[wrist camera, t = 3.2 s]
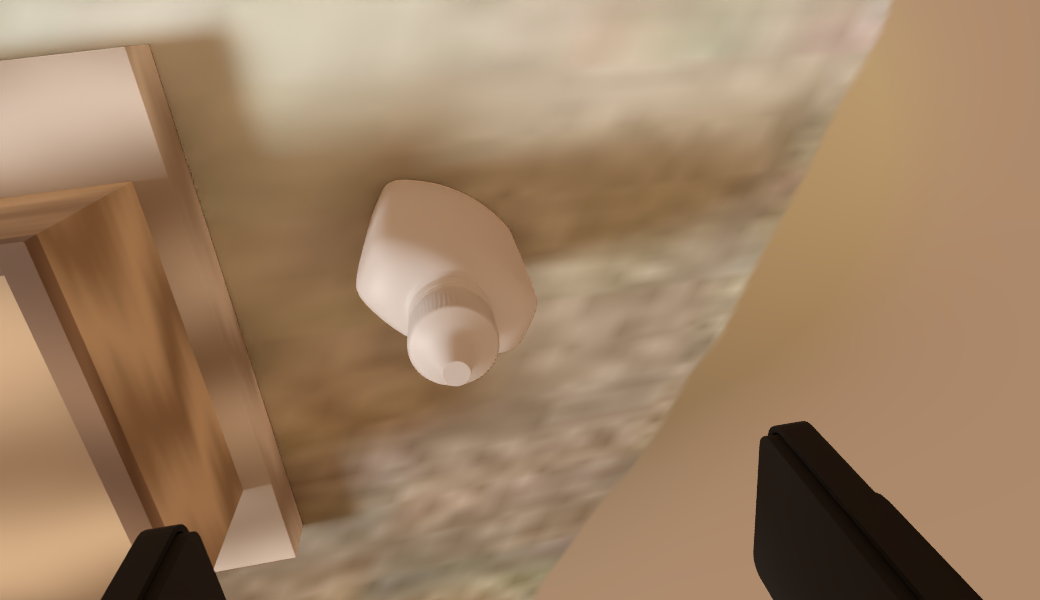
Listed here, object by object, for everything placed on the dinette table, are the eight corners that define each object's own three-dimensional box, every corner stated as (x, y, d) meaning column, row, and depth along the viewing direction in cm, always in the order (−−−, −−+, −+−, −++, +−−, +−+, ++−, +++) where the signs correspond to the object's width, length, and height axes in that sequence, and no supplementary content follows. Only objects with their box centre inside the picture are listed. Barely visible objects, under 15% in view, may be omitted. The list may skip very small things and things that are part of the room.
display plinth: (-293, 94, 21) (-714, 138, 13) (148, 44, 22) (0, 57, 14) (0, 579, 30) (-146, 776, 22) (302, 525, 31) (263, 694, 23)
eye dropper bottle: (442, 306, 28) (455, 491, 17) (355, 205, 25) (304, 344, 15) (524, 247, 27) (592, 400, 16) (442, 138, 25) (458, 231, 14)
